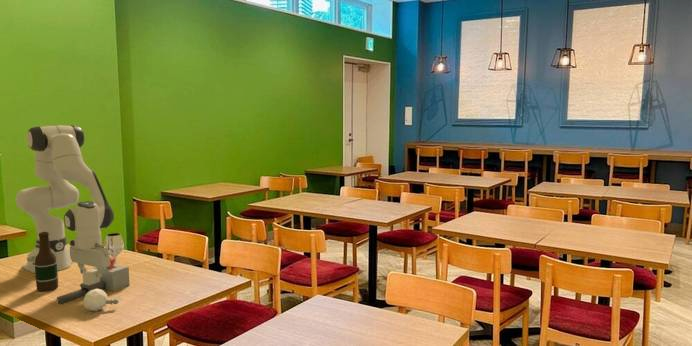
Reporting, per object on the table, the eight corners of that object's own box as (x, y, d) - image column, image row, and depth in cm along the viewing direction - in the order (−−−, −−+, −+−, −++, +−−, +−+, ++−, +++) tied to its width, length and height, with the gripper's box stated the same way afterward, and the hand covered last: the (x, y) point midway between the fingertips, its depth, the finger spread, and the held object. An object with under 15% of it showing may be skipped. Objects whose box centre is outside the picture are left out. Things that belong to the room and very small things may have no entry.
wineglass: (126, 274, 227) (124, 235, 225) (107, 277, 222) (105, 237, 220) (123, 269, 234) (121, 231, 231) (104, 272, 229) (102, 234, 227)
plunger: (104, 279, 210) (103, 259, 209) (112, 277, 214) (111, 257, 212) (110, 280, 209) (109, 260, 208) (118, 278, 212) (116, 258, 211)
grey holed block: (93, 286, 211) (92, 268, 210) (110, 280, 218) (109, 262, 217) (113, 291, 205) (112, 272, 204) (129, 285, 212) (128, 266, 211)
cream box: (80, 292, 202) (79, 271, 201) (94, 287, 207) (92, 267, 206) (90, 294, 199) (89, 274, 198) (103, 290, 205) (102, 269, 204)
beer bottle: (48, 293, 203) (44, 235, 200) (32, 291, 204) (27, 234, 201) (62, 286, 210) (59, 230, 208) (47, 285, 212) (42, 229, 209)
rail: (57, 303, 192) (56, 297, 191) (101, 288, 208) (101, 282, 208) (61, 304, 191) (60, 298, 190) (105, 289, 207) (105, 283, 207)
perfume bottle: (86, 296, 190) (121, 297, 193) (81, 315, 184) (116, 315, 187) (85, 284, 185) (120, 285, 188) (79, 303, 179) (116, 304, 182)
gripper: (113, 243, 199) (115, 277, 201) (80, 237, 209) (82, 269, 210) (99, 247, 194) (101, 281, 195) (65, 240, 203) (68, 273, 205)
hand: (91, 275), depth 203 cm, fingers open, 8 cm apart
